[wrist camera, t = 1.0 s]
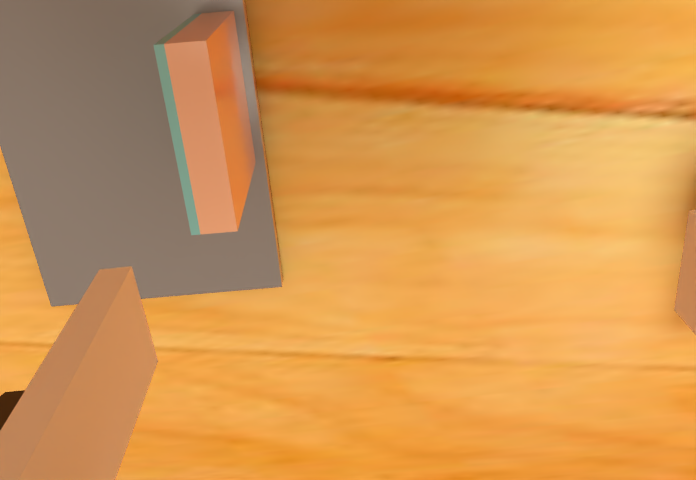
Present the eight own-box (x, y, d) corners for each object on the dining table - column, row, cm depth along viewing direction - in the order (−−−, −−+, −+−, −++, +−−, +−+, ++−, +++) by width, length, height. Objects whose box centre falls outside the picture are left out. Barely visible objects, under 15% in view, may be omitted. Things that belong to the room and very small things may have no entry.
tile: (193, 14, 33) (153, 44, 25) (233, 10, 33) (206, 40, 25) (219, 165, 37) (191, 235, 29) (255, 162, 37) (237, 231, 29)
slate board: (-83, -150, 31) (-95, -152, 30) (220, -175, 31) (217, -178, 30) (57, 297, 41) (51, 306, 40) (282, 278, 41) (282, 286, 40)
